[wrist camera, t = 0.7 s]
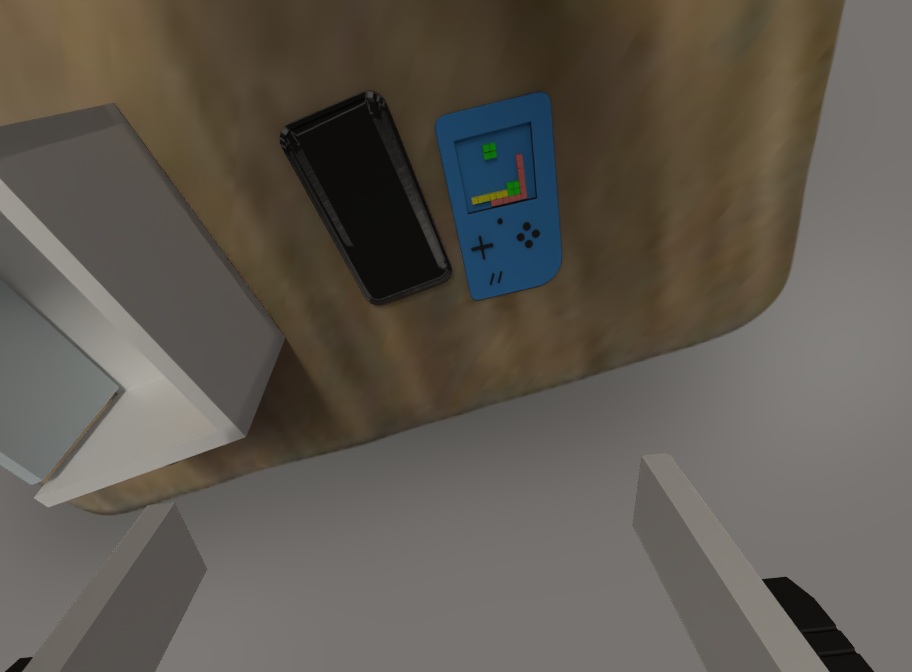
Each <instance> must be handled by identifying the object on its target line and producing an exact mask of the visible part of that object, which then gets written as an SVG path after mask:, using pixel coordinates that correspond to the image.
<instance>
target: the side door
mask: <svg viewBox="0 0 912 672" xmlns="http://www.w3.org/2000/svg"><path fill="white" fill-rule="evenodd" d="M118 388H119V387H118V386H117V385H116V384H115V383H114V382H113V381H112V380H111V379H110V378H108V377H107V376H106V375H105V374H104V373H103V372H102V371H101V370H100V369H99V368H97V367H96V366H95V365H94V364H93V363H92V362H91V361H90V360H89V359H88V358H87V357H85V356H84V355H83V354H82V353H81V352H80V351H79V350H78V349H77V348H76V347H74V346H73V345H72V344H71V343H70V342H69V341H68V340H67V339H66V338H65V337H63V336H62V335H61V334H60V333H59V332H58V331H57V330H56V329H55V328H54V327H53V326H51V325H50V324H49V323H48V322H47V321H46V320H45V319H44V318H43V317H42V316H40V315H39V314H38V313H37V312H36V311H35V310H34V309H33V308H32V307H31V306H29V305H28V304H27V303H26V302H25V301H24V300H23V299H22V298H21V297H20V296H19V295H17V294H16V293H15V292H14V291H13V290H12V289H11V288H10V287H9V286H8V285H6V284H5V283H4V282H3V281H2V280H1V279H0V465H1V466H3V467H4V468H6V469H7V470H9V471H11V472H12V473H14V474H15V475H17V476H18V477H20V478H21V479H23V480H24V481H26V482H27V483H29V484H31V485H32V484H35V483H38V482H40V481H43V480H44V479H45V477H46V476H47V475H48V474H49V472H50V471H51V470H52V469H53V468H54V466H55V465H56V464H57V463H58V461H59V460H60V459H61V458H62V457H63V455H64V454H65V453H66V452H67V451H68V449H69V448H70V447H71V446H72V444H73V443H74V442H75V441H76V440H77V438H78V437H79V436H80V435H81V433H82V432H83V431H84V430H85V429H86V427H87V426H88V425H89V424H90V423H91V421H92V420H93V419H94V418H95V416H96V415H97V414H98V413H99V412H100V410H101V409H102V408H103V407H104V405H105V404H106V403H107V402H108V401H109V399H110V398H111V397H112V396H113V395H114V393H115V392H116V391H117V390H118Z"/></svg>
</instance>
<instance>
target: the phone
mask: <svg viewBox="0 0 912 672" xmlns="http://www.w3.org/2000/svg"><path fill="white" fill-rule="evenodd" d="M280 144H281V146H282V149H283V150H284V152H285V154H286V156H287V158H288V160H289V161H290V163H291V165H292V167H293V169H294V170H295V172H296V174H297V176H298V178H299V179H300V181H301V183H302V185H303V187H304V188H305V190H306V192H307V194H308V196H309V197H310V199H311V201H312V203H313V205H314V207H315V208H316V210H317V212H318V214H319V216H320V217H321V219H322V221H323V223H324V225H325V226H326V228H327V230H328V232H329V234H330V235H331V237H332V239H333V241H334V243H335V244H336V246H337V248H338V250H339V252H340V254H341V255H342V257H343V259H344V261H345V263H346V264H347V266H348V268H349V270H350V272H351V273H352V275H353V277H354V279H355V281H356V282H357V284H358V286H359V288H360V290H361V292H362V293H363V295H364V297H365V298H366V300H367V301H368V302H370V303H371V304H374V305H381V304H385V303H388V302H390V301H393V300H396V299H398V298H401V297H404V296H406V295H409V294H412V293H415V292H417V291H420V290H423V289H425V288H428V287H431V286H433V285H436V284H439V283H442V282H444V281H446V280H447V279H448V278H449V276H450V274H451V265H450V261H449V259H448V256H447V254H446V251H445V249H444V246H443V244H442V241H441V239H440V236H439V234H438V231H437V229H436V226H435V224H434V221H433V219H432V216H431V214H430V211H429V209H428V206H427V204H426V201H425V199H424V196H423V194H422V191H421V189H420V186H419V184H418V181H417V179H416V176H415V174H414V171H413V169H412V166H411V164H410V161H409V159H408V156H407V154H406V151H405V149H404V146H403V144H402V141H401V139H400V136H399V134H398V131H397V129H396V126H395V124H394V121H393V119H392V116H391V114H390V111H389V109H388V106H387V104H386V102H385V100H384V98H383V97H382V96H381V95H380V94H378V93H376V92H374V91H364V92H361V93H359V94H357V95H354V96H352V97H350V98H347V99H345V100H343V101H340V102H338V103H336V104H333V105H331V106H329V107H326V108H324V109H322V110H319V111H317V112H315V113H312V114H310V115H308V116H305V117H303V118H301V119H298V120H296V121H294V122H291V123H290V124H288V125H287V126H285V127H284V128H283V130H282V131H281V134H280Z"/></svg>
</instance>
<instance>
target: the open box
mask: <svg viewBox="0 0 912 672" xmlns="http://www.w3.org/2000/svg"><path fill="white" fill-rule="evenodd" d="M0 279H1V280H2V281H3V282H4V283H5V284H6V285H8V286H9V287H10V288H11V289H12V290H13V291H14V292H15V293H16V294H17V295H19V296H20V297H21V298H22V299H23V300H24V301H25V302H26V303H27V304H28V305H29V306H31V307H32V308H33V309H34V310H35V311H36V312H37V313H38V314H39V315H40V316H42V317H43V318H44V319H45V320H46V321H47V322H48V323H49V324H50V325H51V326H53V327H54V328H55V329H56V330H57V331H58V332H59V333H60V334H61V335H62V336H63V337H65V338H66V339H67V340H68V341H69V342H70V343H71V344H72V345H73V346H74V347H76V348H77V349H78V350H79V351H80V352H81V353H82V354H83V355H84V356H85V357H87V358H88V359H89V360H90V361H91V362H92V363H93V364H94V365H95V366H96V367H97V368H99V369H100V370H101V371H102V372H103V373H104V374H105V375H106V376H107V377H108V378H110V379H111V380H112V381H113V382H114V383H115V384H116V385H117V386H118V387H119V388H118V390H117V391H116V392H117V393H118V394H117V396H116V397H115V398H114V399H113V401H112V402H111V403H110V404H109V405H108V407H107V408H106V409H105V410H104V412H103V413H102V414H101V415H100V417H99V418H98V419H97V420H96V422H95V423H94V424H93V425H92V426H91V428H90V429H89V430H88V431H87V433H86V434H85V435H84V436H83V438H82V439H81V440H80V441H79V442H78V444H77V445H76V446H75V447H74V449H73V450H72V451H71V452H70V454H69V455H68V456H67V457H66V459H65V460H64V461H63V462H62V463H61V465H60V466H59V467H58V468H57V470H56V471H55V472H54V473H53V475H52V476H51V477H50V478H49V479H48V481H47V482H46V483H45V484H44V486H43V487H42V488H41V490H40V491H39V492H38V493H37V494H36V496H35V497H34V499H36V500H37V501H39V502H41V503H42V504H44V505H46V506H47V507H51V506H53V505H56V504H59V503H62V502H65V501H68V500H70V499H73V498H76V497H79V496H82V495H84V494H87V493H90V492H93V491H96V490H98V489H101V488H104V487H107V486H110V485H113V484H115V483H118V482H121V481H124V480H127V479H129V478H132V477H135V476H138V475H141V474H143V473H146V472H149V471H152V470H155V469H158V468H160V467H163V466H168V465H172V464H175V463H177V462H179V461H181V460H183V459H186V458H189V457H191V456H194V455H197V454H200V453H203V452H205V451H208V450H211V449H214V448H217V447H219V446H222V445H225V444H228V443H231V442H234V441H236V440H239V439H242V438H245V437H246V436H247V434H248V431H249V429H250V426H251V424H252V421H253V419H254V416H255V413H256V411H257V408H258V406H259V403H260V401H261V398H262V396H263V393H264V391H265V388H266V386H267V383H268V381H269V378H270V376H271V373H272V371H273V368H274V365H275V363H276V360H277V358H278V355H279V353H280V350H281V348H282V345H283V343H284V340H285V336H284V335H283V334H282V332H281V331H280V330H279V328H278V327H277V326H276V324H275V323H274V321H273V320H272V319H271V317H270V316H269V315H268V313H267V312H266V310H265V309H264V308H263V306H262V305H261V304H260V302H259V301H258V300H257V298H256V297H255V295H254V294H253V293H252V291H251V290H250V289H249V287H248V286H247V285H246V283H245V282H244V280H243V279H242V278H241V276H240V275H239V274H238V272H237V271H236V269H235V268H234V267H233V265H232V264H231V263H230V261H229V260H228V259H227V257H226V256H225V254H224V253H223V252H222V250H221V249H220V248H219V246H218V245H217V244H216V242H215V241H214V239H213V238H212V237H211V235H210V234H209V233H208V231H207V230H206V228H205V227H204V226H203V224H202V223H201V222H200V220H199V219H198V218H197V216H196V215H195V213H194V212H193V211H192V209H191V208H190V207H189V205H188V204H187V203H186V201H185V200H184V198H183V197H182V196H181V194H180V193H179V192H178V190H177V189H176V187H175V186H174V185H173V183H172V182H171V181H170V179H169V178H168V177H167V175H166V174H165V172H164V171H163V170H162V168H161V167H160V166H159V164H158V163H157V162H156V160H155V159H154V157H153V156H152V155H151V153H150V152H149V151H148V149H147V148H146V146H145V145H144V144H143V142H142V141H141V140H140V138H139V137H138V136H137V134H136V133H135V131H134V130H133V129H132V127H131V126H130V125H129V123H128V122H127V121H126V119H125V118H124V116H123V115H122V114H121V112H120V111H119V110H118V108H117V107H116V105H115V104H114V103H111V104H107V105H102V106H97V107H92V108H87V109H82V110H78V111H73V112H68V113H63V114H58V115H53V116H48V117H44V118H39V119H34V120H29V121H24V122H19V123H15V124H10V125H5V126H0Z"/></svg>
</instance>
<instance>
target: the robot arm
mask: <svg viewBox="0 0 912 672" xmlns="http://www.w3.org/2000/svg"><path fill="white" fill-rule="evenodd" d="M633 527H634V529H635V531H636V533H637V535H638V537H639V539H640V541H641V543H642V545H643V546H644V548H645V550H646V552H647V554H648V556H649V558H650V560H651V562H652V564H653V566H654V568H655V570H656V572H657V574H658V576H659V578H660V580H661V582H662V584H663V586H664V588H665V590H666V592H667V594H668V595H669V597H670V599H671V601H672V603H673V605H674V607H675V609H676V611H677V613H678V615H679V617H680V619H681V621H682V623H683V625H684V627H685V629H686V631H687V633H688V635H689V637H690V639H691V640H692V642H693V644H694V646H695V648H696V650H697V652H698V654H699V656H700V658H701V660H702V662H703V664H704V666H705V668H706V670H707V672H874V671H873V670H872V669H871V667H870V666H869V665H868V664H867V663H866V661H865V660H864V659H863V658H862V656H861V655H860V654H857V653H856V652H855V649H854V647H853V645H852V644H851V643H850V642H849V640H848V639H847V638H846V637H845V636H844V634H843V633H842V632H841V631H839V630H838V629H837V628H836V625H835V623H834V622H833V621H832V620H831V618H830V617H829V616H828V615H827V614H826V612H825V611H824V610H823V609H822V607H821V606H820V605H819V604H818V603H817V601H816V600H815V599H814V598H813V597H812V596H810V595H809V594H808V593H807V592H805V591H804V590H803V589H801V588H800V587H799V586H798V585H796V584H795V583H794V582H792V581H791V580H790V579H789V578H787V577H779V578H769V579H761V578H760V577H759V575H758V574H757V573H756V571H755V570H754V569H753V567H752V566H751V565H750V563H749V562H748V561H747V559H746V558H745V556H744V555H743V554H742V552H741V551H740V550H739V548H738V547H737V546H736V544H735V543H734V541H733V540H732V539H731V537H730V536H729V535H728V533H727V532H726V531H725V529H724V528H723V526H722V525H721V524H720V522H719V521H718V520H717V518H716V517H715V516H714V514H713V513H712V512H711V510H710V509H709V507H708V506H707V505H706V503H705V502H704V501H703V499H702V498H701V497H700V495H699V494H698V493H697V491H696V490H695V488H694V487H693V486H692V485H691V483H690V482H689V480H688V479H687V478H686V476H685V475H684V473H683V472H682V471H681V469H680V468H679V467H678V465H677V464H676V463H675V461H674V460H673V458H672V457H671V456H670V454H669V453H662V454H651V455H642V456H641V463H640V472H639V479H638V487H637V495H636V502H635V510H634V518H633ZM206 570H207V567H206V565H205V563H204V561H203V559H202V557H201V555H200V553H199V551H198V549H197V547H196V545H195V543H194V541H193V539H192V537H191V534H190V532H189V530H188V528H187V526H186V524H185V522H184V520H183V518H182V516H181V514H180V512H179V510H178V508H177V506H176V503H166V504H156V505H147V507H146V508H145V509H144V511H143V512H142V513H141V515H140V516H139V517H138V519H137V520H136V521H135V523H134V524H133V525H132V527H131V528H130V529H129V531H128V532H127V533H126V535H125V536H124V537H123V538H122V540H121V541H120V542H119V544H118V545H117V547H116V548H115V549H114V550H113V552H112V553H111V554H110V556H109V557H108V558H107V560H106V561H105V562H104V564H103V565H102V566H101V568H100V569H99V570H98V572H97V573H96V574H95V576H94V577H93V578H92V580H91V581H90V582H89V584H88V585H87V586H86V588H85V589H84V590H83V592H82V593H81V594H80V596H79V597H78V598H77V600H76V601H75V602H74V604H73V605H72V606H71V608H70V609H69V610H68V612H67V613H66V614H65V616H64V617H63V618H62V620H61V621H60V622H59V624H58V625H57V626H56V628H55V629H54V630H53V632H52V633H51V634H50V635H49V637H48V638H47V639H46V641H45V642H44V644H43V645H42V646H41V648H40V649H39V650H38V652H37V653H36V654H35V656H34V657H29V658H20V659H19V660H17V662H15V663H14V664H13V665H12V666H11V667H10V668H9V669H8V670H6V671H5V672H155V671H156V669H157V667H158V665H159V663H160V661H161V659H162V657H163V655H164V653H165V651H166V649H167V647H168V645H169V643H170V641H171V639H172V637H173V635H174V633H175V632H176V629H177V628H178V626H179V624H180V622H181V620H182V618H183V616H184V614H185V612H186V610H187V608H188V606H189V604H190V602H191V600H192V598H193V596H194V594H195V592H196V590H197V588H198V586H199V584H200V582H201V580H202V578H203V576H204V574H205V572H206Z"/></svg>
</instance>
